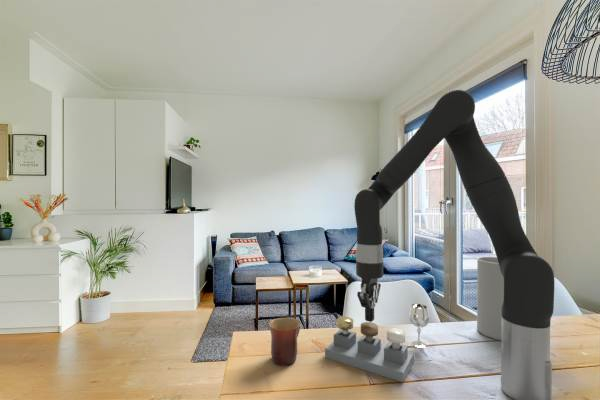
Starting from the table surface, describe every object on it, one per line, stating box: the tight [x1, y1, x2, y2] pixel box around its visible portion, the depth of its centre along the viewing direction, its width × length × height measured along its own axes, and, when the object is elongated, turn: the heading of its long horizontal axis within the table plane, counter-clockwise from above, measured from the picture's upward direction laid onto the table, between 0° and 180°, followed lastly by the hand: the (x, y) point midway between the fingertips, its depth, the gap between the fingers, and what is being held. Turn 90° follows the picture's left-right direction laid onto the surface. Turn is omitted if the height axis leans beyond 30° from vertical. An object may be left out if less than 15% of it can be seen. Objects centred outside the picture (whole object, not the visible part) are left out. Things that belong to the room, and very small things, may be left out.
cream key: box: [386, 327, 406, 351], centre depth 83 cm, size 5×5×6 cm
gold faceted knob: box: [336, 316, 354, 337], centre depth 91 cm, size 5×5×6 cm
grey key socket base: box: [324, 329, 415, 383], centre depth 87 cm, size 22×12×5 cm, turn 57°
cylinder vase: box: [476, 256, 504, 341], centre depth 104 cm, size 12×12×25 cm
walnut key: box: [360, 321, 379, 344], centre depth 87 cm, size 5×5×6 cm
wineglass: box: [408, 303, 430, 349], centre depth 96 cm, size 6×6×12 cm
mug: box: [268, 317, 301, 366], centre depth 88 cm, size 12×9×10 cm
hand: (369, 320), depth 87 cm, fingers closed
